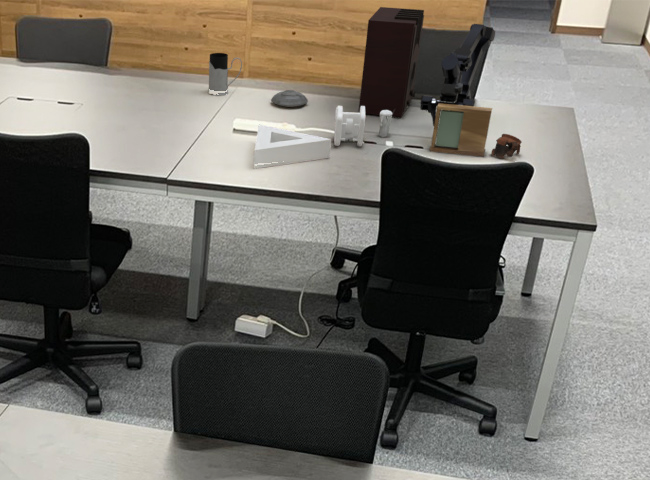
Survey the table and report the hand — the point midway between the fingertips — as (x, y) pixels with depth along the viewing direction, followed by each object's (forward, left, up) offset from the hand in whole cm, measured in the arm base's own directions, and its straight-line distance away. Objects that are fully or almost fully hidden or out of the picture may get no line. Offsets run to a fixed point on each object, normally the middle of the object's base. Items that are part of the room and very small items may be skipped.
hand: (442, 126), depth 349 cm
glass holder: (+19, -103, -7) cm, 105 cm away
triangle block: (+53, -30, -7) cm, 61 cm away
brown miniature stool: (-11, +21, -7) cm, 25 cm away
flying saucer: (+8, -74, -7) cm, 75 cm away
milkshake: (+7, -21, -7) cm, 23 cm away
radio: (-21, -47, -7) cm, 52 cm away
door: (-1, +4, -5) cm, 7 cm away
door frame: (-1, +8, -7) cm, 11 cm away
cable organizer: (+24, -23, -7) cm, 34 cm away
